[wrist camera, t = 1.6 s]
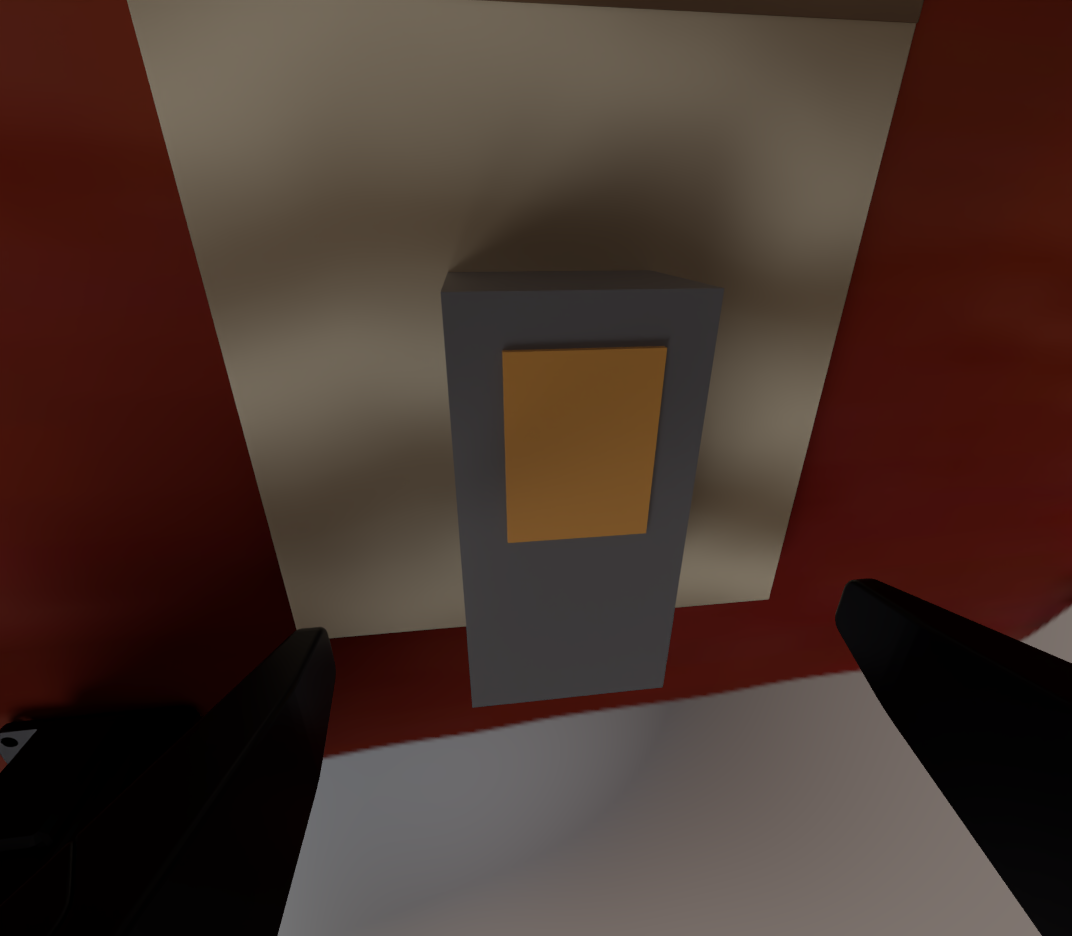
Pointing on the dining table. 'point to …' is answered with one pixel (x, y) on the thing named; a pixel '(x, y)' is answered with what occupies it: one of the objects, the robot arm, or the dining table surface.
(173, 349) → the dining table surface
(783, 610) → the dining table surface
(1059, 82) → the dining table surface
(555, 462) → the block
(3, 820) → the robot arm
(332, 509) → the board
